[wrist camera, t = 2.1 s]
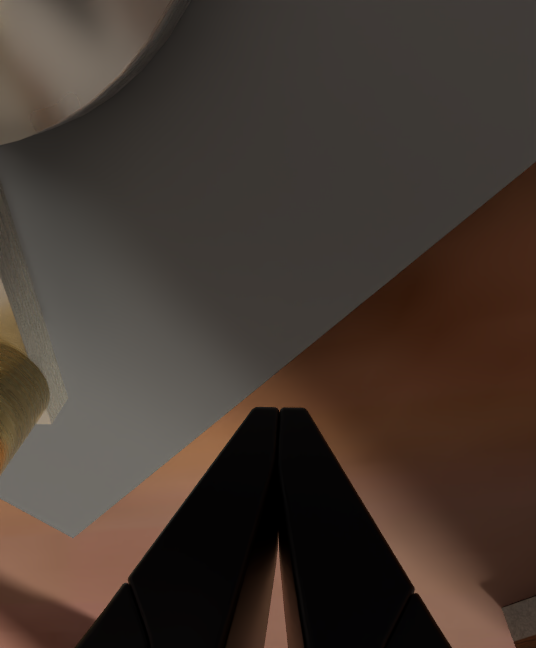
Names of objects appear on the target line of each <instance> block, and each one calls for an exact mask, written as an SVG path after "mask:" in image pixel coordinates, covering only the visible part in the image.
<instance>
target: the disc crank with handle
mask: <svg viewBox="0 0 536 648" xmlns="http://www.w3.org/2000/svg"><path fill="white" fill-rule="evenodd" d="M190 1H191V0H0V145H3V144H7V143H11V142H15V141H19V140H22V139H24V138H27V137H30V136H33V135H36V134H39V133H41V132H44V131H47V130H50V129H53V128H55V127H57V126H60V125H62V124H64V123H67V122H69V121H71V120H74V119H76V118H78V117H80V116H83V115H85V114H86V113H88V112H89V111H91V110H92V109H94V108H96V107H97V106H99V105H100V104H102V103H103V102H105V101H106V100H108V99H109V98H111V97H113V96H114V95H115V94H116V93H117V92H118V91H120V90H121V89H122V88H123V87H124V86H125V85H126V84H127V83H128V82H130V81H131V80H132V79H133V78H134V77H135V76H136V75H137V74H138V73H140V72H141V71H142V70H143V68H144V67H145V66H146V65H147V63H148V62H149V61H150V60H151V59H152V57H153V56H154V55H155V54H156V53H157V51H158V50H159V49H160V48H161V46H162V45H163V44H164V43H165V42H166V40H167V39H168V37H169V36H170V34H171V32H172V31H173V29H174V27H175V26H176V24H177V23H178V21H179V19H180V18H181V16H182V14H183V13H184V11H185V9H186V8H187V6H188V5H189V3H190ZM67 399H68V396H67V393H66V389H65V386H64V383H63V380H62V377H61V373H60V370H59V367H58V364H57V361H56V357H55V354H54V351H53V348H52V344H51V341H50V338H49V335H48V332H47V328H46V325H45V322H44V319H43V315H42V312H41V309H40V306H39V303H38V299H37V296H36V293H35V290H34V287H33V283H32V280H31V277H30V274H29V270H28V267H27V264H26V261H25V258H24V254H23V251H22V248H21V245H20V241H19V238H18V235H17V232H16V229H15V225H14V222H13V219H12V216H11V213H10V209H9V206H8V203H7V200H6V196H5V193H4V190H3V187H2V184H1V180H0V476H1V474H2V473H3V471H4V470H5V468H6V467H7V465H8V464H9V462H10V461H11V460H12V458H13V457H14V455H15V454H16V452H17V451H18V449H19V448H20V446H21V445H22V443H23V442H24V441H25V439H26V438H27V436H28V435H29V433H30V432H31V430H32V429H33V427H34V426H35V424H52V423H53V421H54V420H55V418H56V417H57V415H58V414H59V412H60V410H61V409H62V407H63V406H64V404H65V403H66V401H67Z"/></svg>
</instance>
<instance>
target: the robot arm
mask: <svg viewBox="0 0 536 648" xmlns="http://www.w3.org/2000/svg"><path fill="white" fill-rule="evenodd" d="M278 534H279V557H280V570H281V580H282V590H283V601H284V611H285V622H286V632H287V642H288V648H452V647H451V645H450V644H449V642H448V641H447V639H446V638H445V636H444V635H443V633H442V631H441V630H440V628H439V627H438V625H437V624H436V622H435V620H434V619H433V617H432V615H431V614H430V612H429V610H428V609H427V607H426V605H425V604H424V602H423V600H422V599H421V597H420V596H419V594H417V593H414V590H415V589H414V586H413V585H412V583H411V581H410V580H409V578H408V576H407V575H406V573H405V571H404V570H403V568H402V566H401V565H400V563H399V561H398V560H397V558H396V556H395V555H394V553H393V551H392V550H391V548H390V546H389V545H388V543H387V542H386V540H385V538H384V537H383V535H382V533H381V532H380V530H379V528H378V527H377V525H376V523H375V522H374V520H373V518H372V517H371V515H370V513H369V512H368V510H367V508H366V507H365V505H364V503H363V502H362V500H361V499H360V497H359V495H358V494H357V492H356V490H355V489H354V487H353V485H352V484H351V482H350V480H349V479H348V477H347V475H346V474H345V472H344V470H343V469H342V467H341V465H340V464H339V462H338V460H337V459H336V457H335V455H334V454H333V452H332V451H331V449H330V447H329V446H328V444H327V442H326V441H325V439H324V437H323V436H322V434H321V432H320V431H319V429H318V427H317V426H316V424H315V422H314V421H313V419H312V417H311V416H310V414H309V412H308V411H307V410H306V409H305V408H287V407H285V408H282V409H281V410H280V412H279V409H278V408H276V407H256V408H254V409H252V411H251V412H250V413H249V415H248V416H247V417H246V419H245V420H244V421H243V423H242V424H241V425H240V427H239V428H238V429H237V431H236V432H235V434H234V435H233V436H232V438H231V439H230V440H229V442H228V443H227V444H226V446H225V447H224V448H223V450H222V451H221V452H220V454H219V455H218V457H217V458H216V459H215V461H214V462H213V463H212V465H211V466H210V467H209V469H208V470H207V471H206V473H205V474H204V476H203V477H202V478H201V480H200V481H199V482H198V484H197V485H196V486H195V488H194V489H193V490H192V492H191V493H190V494H189V496H188V497H187V499H186V500H185V501H184V503H183V504H182V505H181V507H180V508H179V509H178V511H177V512H176V513H175V515H174V516H173V518H172V519H171V520H170V522H169V523H168V524H167V526H166V527H165V528H164V530H163V531H162V532H161V534H160V535H159V536H158V538H157V539H156V541H155V542H154V543H153V545H152V546H151V547H150V549H149V550H148V551H147V553H146V554H145V555H144V557H143V558H142V560H141V561H140V562H139V564H138V565H137V566H136V568H135V569H134V570H133V572H132V573H131V574H130V576H129V577H128V583H129V584H128V583H124V584H123V585H122V586H121V587H120V589H119V590H118V592H117V593H116V594H115V596H114V597H113V598H112V600H111V601H110V603H109V604H108V605H107V607H106V608H105V609H104V611H103V612H102V613H101V615H100V616H99V617H98V618H97V620H96V621H95V622H94V624H93V625H92V626H91V627H90V629H89V630H88V631H87V633H86V634H85V635H84V636H83V638H82V639H81V640H80V642H79V643H78V644H77V645H76V647H75V648H264V644H265V637H266V630H267V623H268V616H269V609H270V602H271V595H272V589H273V582H274V575H275V568H276V560H277V551H278Z"/></svg>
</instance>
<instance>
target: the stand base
mask: <svg viewBox="0 0 536 648" xmlns="http://www.w3.org/2000/svg"><path fill="white" fill-rule="evenodd" d="M535 162H536V0H191V1H190V3H189V5H188V6H187V8H186V9H185V11H184V13H183V14H182V16H181V18H180V19H179V21H178V23H177V24H176V26H175V27H174V29H173V31H172V32H171V34H170V36H169V37H168V39H167V40H166V42H165V43H164V44H163V45H162V46H161V48H160V49H159V50H158V51H157V53H156V54H155V55H154V56H153V57H152V59H151V60H150V61H149V62H148V63H147V65H146V66H145V67H144V68H143V70H142V71H141V72H140V73H138V74H137V75H136V76H135V77H134V78H133V79H132V80H131V81H130V82H128V83H127V84H126V85H125V86H124V87H123V88H122V89H121V90H120V91H118V92H117V93H116V94H115V95H114V96H113V97H111V98H109V99H108V100H106V101H105V102H103V103H102V104H100V105H99V106H97V107H96V108H94V109H92V110H91V111H89V112H88V113H86V114H85V115H83V116H80V117H78V118H76V119H74V120H71V121H69V122H67V123H64V124H62V125H60V126H57V127H55V128H53V129H50V130H47V131H44V132H41V133H39V134H36V135H33V136H30V137H27V138H24V139H22V140H19V141H15V142H11V143H7V144H3V145H0V180H1V184H2V187H3V190H4V193H5V196H6V200H7V203H8V206H9V209H10V213H11V216H12V219H13V222H14V225H15V229H16V232H17V235H18V238H19V241H20V245H21V248H22V251H23V254H24V258H25V261H26V264H27V267H28V270H29V274H30V277H31V280H32V283H33V287H34V290H35V293H36V296H37V299H38V303H39V306H40V309H41V312H42V315H43V319H44V322H45V325H46V328H47V332H48V335H49V338H50V341H51V344H52V348H53V351H54V354H55V357H56V361H57V364H58V367H59V370H60V373H61V377H62V380H63V383H64V386H65V389H66V393H67V396H68V399H67V401H66V403H65V404H64V406H63V407H62V409H61V410H60V412H59V414H58V415H57V417H56V418H55V420H54V421H53V423H52V424H35V426H34V427H33V429H32V430H31V432H30V433H29V435H28V436H27V438H26V439H25V441H24V442H23V443H22V445H21V446H20V448H19V449H18V451H17V452H16V454H15V455H14V457H13V458H12V460H11V461H10V462H9V464H8V465H7V467H6V468H5V470H4V471H3V473H2V474H1V476H0V499H2V500H4V501H6V502H8V503H9V504H11V505H13V506H15V507H17V508H19V509H20V510H22V511H24V512H26V513H28V514H30V515H31V516H33V517H35V518H37V519H39V520H41V521H42V522H44V523H46V524H48V525H50V526H52V527H53V528H55V529H57V530H59V531H61V532H63V533H65V534H66V535H68V536H70V537H72V538H74V537H75V536H76V535H78V534H79V533H80V532H81V531H83V530H84V529H85V528H86V527H88V526H89V525H90V524H91V523H92V522H94V521H95V520H96V519H97V518H99V517H100V516H101V515H102V514H103V513H105V512H106V511H107V510H108V509H110V508H111V507H112V506H113V505H115V504H116V503H117V502H118V501H119V500H121V499H122V498H123V497H124V496H126V495H127V494H128V493H129V492H131V491H132V490H133V489H134V488H135V487H137V486H138V485H139V484H140V483H142V482H143V481H144V480H145V479H146V478H148V477H149V476H150V475H151V474H153V473H154V472H155V471H156V470H158V469H159V468H160V467H161V466H162V465H164V464H165V463H166V462H167V461H169V460H170V459H171V458H172V457H174V456H175V455H176V454H177V453H178V452H180V451H181V450H182V449H183V448H185V447H186V446H187V445H188V444H190V443H191V442H192V441H193V440H194V439H196V438H197V437H198V436H199V435H201V434H202V433H203V432H204V431H205V430H207V429H208V428H209V427H210V426H212V425H213V424H214V423H215V422H217V421H218V420H219V419H220V418H221V417H223V416H224V415H225V414H226V413H228V412H229V411H230V410H231V409H233V408H234V407H235V406H236V405H237V404H239V403H240V402H241V401H242V400H244V399H245V398H246V397H247V396H248V395H250V394H251V393H252V392H253V391H255V390H256V389H257V388H258V387H260V386H261V385H262V384H263V383H264V382H266V381H267V380H268V379H269V378H271V377H272V376H273V375H274V374H276V373H277V372H278V371H279V370H280V369H282V368H283V367H284V366H285V365H287V364H288V363H289V362H290V361H292V360H293V359H294V358H295V357H296V356H298V355H299V354H300V353H301V352H303V351H304V350H305V349H306V348H307V347H309V346H310V345H311V344H312V343H314V342H315V341H316V340H317V339H319V338H320V337H321V336H322V335H323V334H325V333H326V332H327V331H328V330H330V329H331V328H332V327H333V326H335V325H336V324H337V323H338V322H339V321H341V320H342V319H343V318H344V317H346V316H347V315H348V314H349V313H350V312H352V311H353V310H354V309H355V308H357V307H358V306H359V305H360V304H362V303H363V302H364V301H365V300H366V299H368V298H369V297H370V296H371V295H373V294H374V293H375V292H376V291H378V290H379V289H380V288H381V287H382V286H384V285H385V284H386V283H387V282H389V281H390V280H391V279H392V278H394V277H395V276H396V275H397V274H398V273H400V272H401V271H402V270H403V269H405V268H406V267H407V266H408V265H409V264H411V263H412V262H413V261H414V260H416V259H417V258H418V257H419V256H421V255H422V254H423V253H424V252H425V251H427V250H428V249H429V248H430V247H432V246H433V245H434V244H435V243H437V242H438V241H439V240H440V239H441V238H443V237H444V236H445V235H446V234H448V233H449V232H450V231H451V230H452V229H454V228H455V227H456V226H457V225H459V224H460V223H461V222H462V221H464V220H465V219H466V218H467V217H468V216H470V215H471V214H472V213H473V212H475V211H476V210H477V209H478V208H480V207H481V206H482V205H483V204H484V203H486V202H487V201H488V200H489V199H491V198H492V197H493V196H494V195H496V194H497V193H498V192H499V191H500V190H502V189H503V188H504V187H505V186H507V185H508V184H509V183H510V182H511V181H513V180H514V179H515V178H516V177H518V176H519V175H520V174H521V173H523V172H524V171H525V170H526V169H527V168H529V167H530V166H531V165H532V164H534V163H535Z"/></svg>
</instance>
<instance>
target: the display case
mask: <svg viewBox="0 0 536 648" xmlns="http://www.w3.org/2000/svg"><path fill="white" fill-rule="evenodd" d="M502 611H503V613H504V616H505V619H506V622H507V624H508V627H509V630H510V633H511V635H512V638H513V641H514V644H515V647H516V648H536V596H535V597H532V598H529V599H526V600H523V601H520V602H518V603H515V604H512V605H509V606H506V607H503V608H502Z"/></svg>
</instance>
